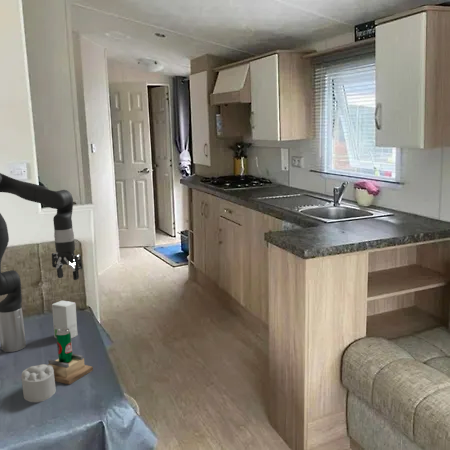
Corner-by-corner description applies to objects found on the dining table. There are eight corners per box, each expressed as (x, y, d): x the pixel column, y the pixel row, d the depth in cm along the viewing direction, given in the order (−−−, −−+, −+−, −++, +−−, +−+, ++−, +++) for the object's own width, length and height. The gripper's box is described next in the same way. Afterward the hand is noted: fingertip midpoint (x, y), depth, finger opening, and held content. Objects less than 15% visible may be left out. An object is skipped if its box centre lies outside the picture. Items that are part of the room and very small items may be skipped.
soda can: (68, 364, 181) (65, 332, 179) (56, 363, 182) (53, 332, 180) (75, 358, 186) (72, 327, 184) (63, 357, 187) (60, 327, 185)
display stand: (41, 377, 183) (39, 361, 181) (65, 364, 193) (63, 349, 192) (69, 384, 176) (67, 368, 175) (93, 370, 186) (91, 354, 185)
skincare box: (54, 338, 220) (50, 304, 218) (64, 332, 226) (61, 299, 224) (68, 340, 217) (65, 306, 214) (79, 335, 223) (75, 301, 220)
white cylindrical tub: (54, 381, 179) (52, 359, 177) (56, 398, 167) (54, 374, 166) (23, 388, 175) (21, 365, 174) (23, 405, 163) (20, 380, 162)
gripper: (44, 240, 201) (48, 279, 203) (70, 242, 194) (74, 282, 197) (58, 237, 207) (62, 274, 210) (84, 239, 201) (87, 277, 203)
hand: (68, 278), depth 203 cm, fingers open, 8 cm apart
